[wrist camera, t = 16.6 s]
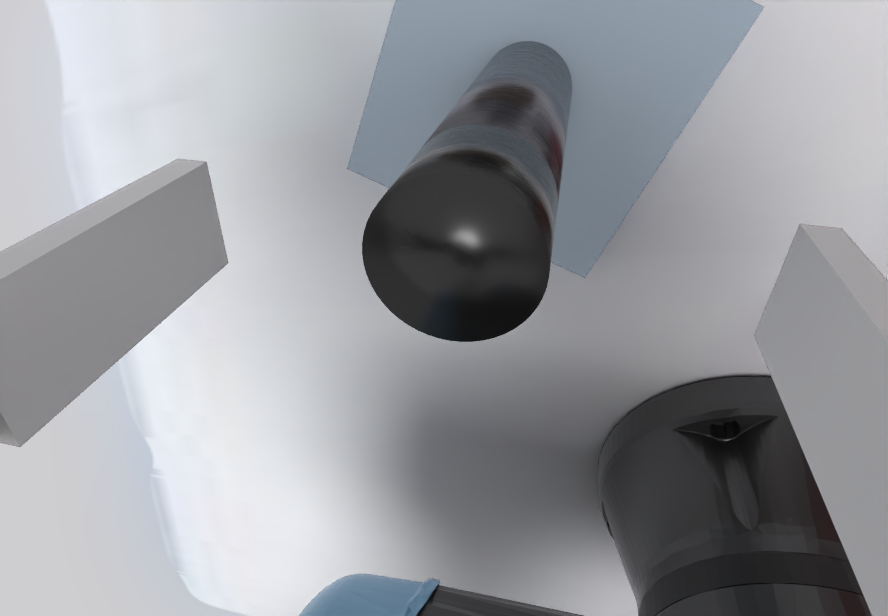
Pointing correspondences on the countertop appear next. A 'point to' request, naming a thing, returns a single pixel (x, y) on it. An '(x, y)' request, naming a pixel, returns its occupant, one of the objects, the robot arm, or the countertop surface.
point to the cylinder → (478, 204)
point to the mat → (593, 91)
